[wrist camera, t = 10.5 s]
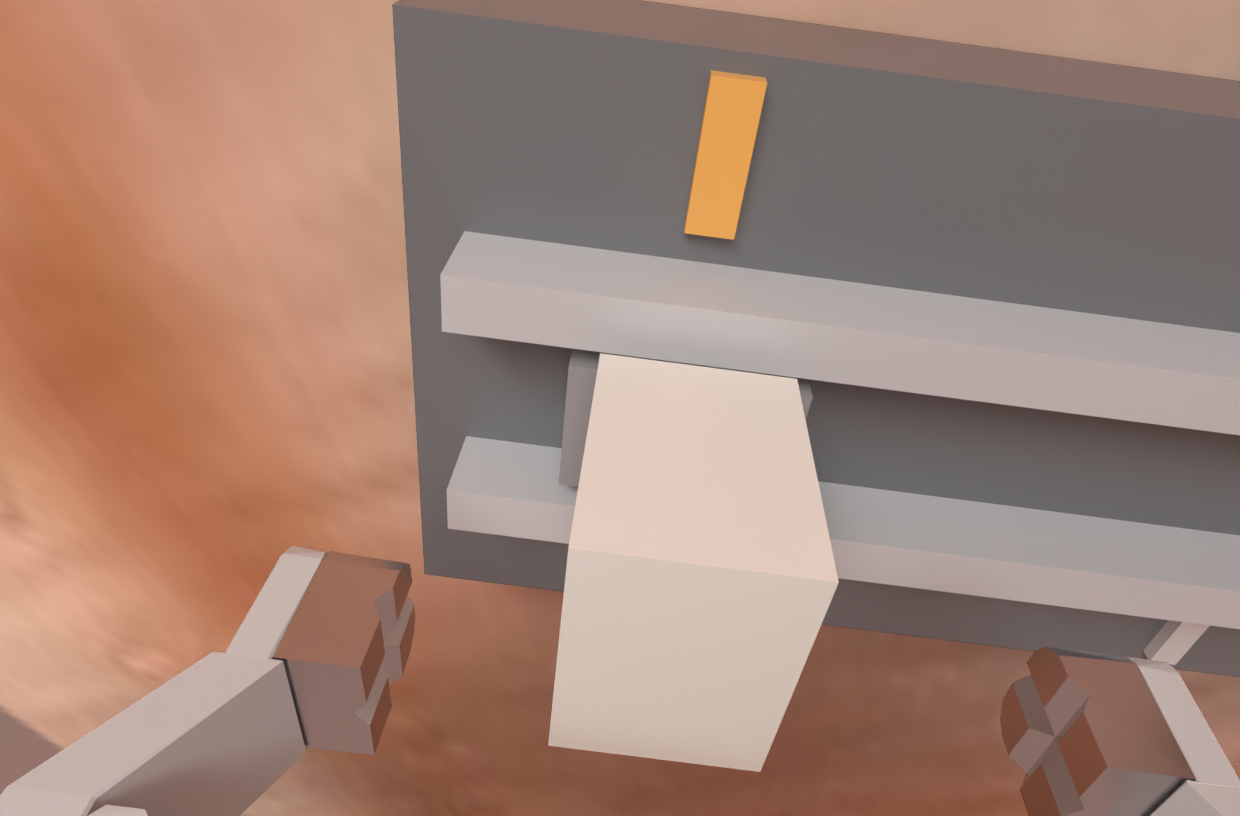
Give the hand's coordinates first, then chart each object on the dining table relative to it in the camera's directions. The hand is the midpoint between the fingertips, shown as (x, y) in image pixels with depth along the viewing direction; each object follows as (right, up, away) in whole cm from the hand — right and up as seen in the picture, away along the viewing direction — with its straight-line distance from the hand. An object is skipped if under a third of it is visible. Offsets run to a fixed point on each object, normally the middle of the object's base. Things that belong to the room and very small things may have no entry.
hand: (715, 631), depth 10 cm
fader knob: (0, +3, +4) cm, 5 cm away
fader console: (+5, +4, +7) cm, 10 cm away
